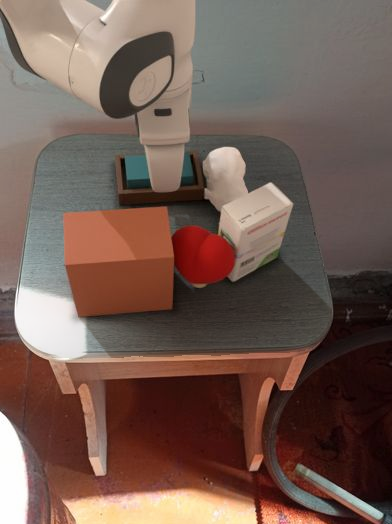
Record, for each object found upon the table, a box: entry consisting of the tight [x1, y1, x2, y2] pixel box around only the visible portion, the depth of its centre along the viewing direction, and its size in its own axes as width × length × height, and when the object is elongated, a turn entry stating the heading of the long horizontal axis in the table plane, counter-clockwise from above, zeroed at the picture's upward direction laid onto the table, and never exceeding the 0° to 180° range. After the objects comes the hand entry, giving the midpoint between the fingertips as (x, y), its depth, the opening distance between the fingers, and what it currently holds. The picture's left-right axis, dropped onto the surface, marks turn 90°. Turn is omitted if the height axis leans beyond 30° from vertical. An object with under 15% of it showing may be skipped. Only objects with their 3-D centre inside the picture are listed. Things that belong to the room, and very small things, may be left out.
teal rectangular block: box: [125, 152, 193, 190], centre depth 87 cm, size 10×5×3 cm, turn 98°
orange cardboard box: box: [62, 206, 175, 318], centre depth 74 cm, size 13×8×12 cm, turn 97°
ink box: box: [217, 182, 294, 283], centre depth 78 cm, size 8×5×12 cm, turn 125°
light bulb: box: [171, 224, 235, 289], centre depth 76 cm, size 9×7×10 cm
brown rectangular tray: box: [114, 150, 205, 206], centre depth 88 cm, size 13×8×2 cm, turn 97°
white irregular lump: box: [202, 146, 249, 225], centre depth 84 cm, size 6×8×12 cm
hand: (158, 167), depth 86 cm, fingers open, 7 cm apart
